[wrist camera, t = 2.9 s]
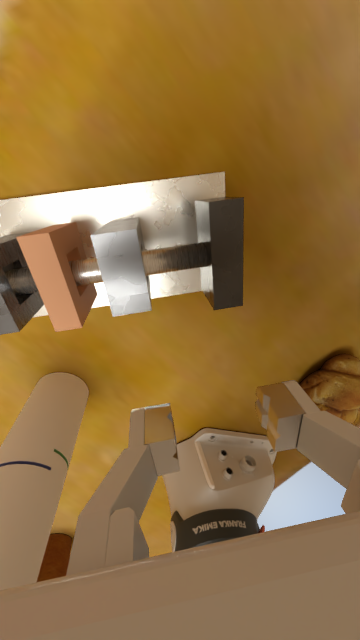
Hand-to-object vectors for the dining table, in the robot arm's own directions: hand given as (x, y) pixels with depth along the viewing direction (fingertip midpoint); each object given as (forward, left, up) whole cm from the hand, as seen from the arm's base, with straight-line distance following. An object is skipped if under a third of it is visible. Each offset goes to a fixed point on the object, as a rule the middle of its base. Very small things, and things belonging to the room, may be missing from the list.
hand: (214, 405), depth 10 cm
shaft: (+6, -1, -16) cm, 17 cm away
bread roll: (-28, +16, -21) cm, 39 cm away
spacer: (+9, -1, -17) cm, 20 cm away
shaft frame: (+6, -1, -21) cm, 22 cm away
